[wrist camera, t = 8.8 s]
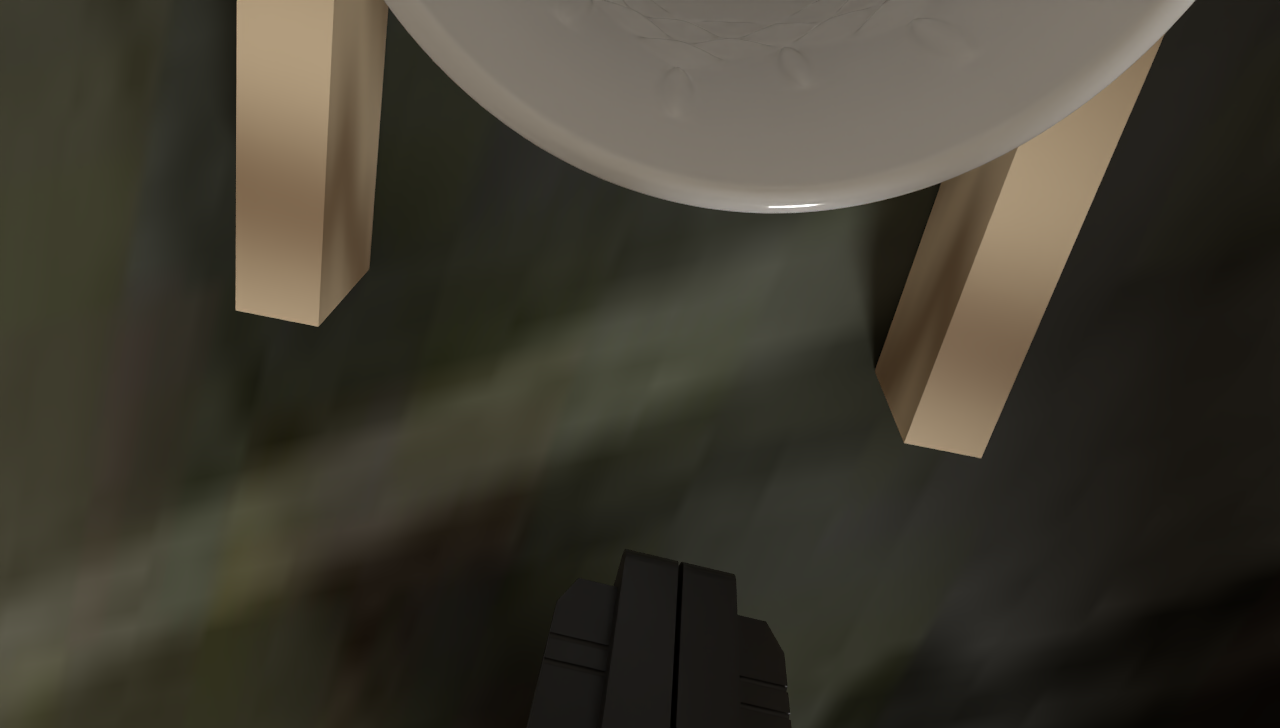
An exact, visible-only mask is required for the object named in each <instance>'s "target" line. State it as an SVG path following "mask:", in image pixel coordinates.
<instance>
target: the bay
mask: <svg viewBox="0 0 1280 728" xmlns="http://www.w3.org/2000/svg"><path fill="white" fill-rule="evenodd" d="M387 18H388V6H387V4H386V3H385V1H384V0H237V95H236V310H237V311H242V312H247V313H252V314H257V315H262V316H267V317H272V318H277V319H282V320H287V321H292V322H297V323H302V324H307V325H312V326H318V327H319V325H320V324H321V323H322V322H323V321H324V320H325V319H326V317H327V316H328V315H329V314H330V313H331V312H332V311H333V310H334V308H335V307H336V306H337V305H338V304H339V303H340V302H341V300H342V299H343V298H344V297H345V296H346V295H347V294H348V292H349V291H350V290H351V289H352V288H353V287H354V286H355V285H356V283H357V282H358V281H359V280H360V279H361V278H362V277H363V275H364V274H365V273H366V272H367V271H368V270H369V265H370V252H371V238H372V224H373V210H374V197H375V183H376V169H377V156H378V142H379V128H380V114H381V101H382V87H383V73H384V59H385V46H386V32H387ZM1164 35H1165V34H1164ZM1164 35H1163V36H1162V37H1161V38H1160V39H1159V40H1158V41H1157V42H1156V43H1155V44H1154V45H1153V46H1152V47H1151V48H1150V49H1149V50H1148V51H1147V52H1146V53H1145V54H1144V55H1143V56H1141V57H1140V58H1139V59H1138V60H1137V61H1136V62H1135V63H1134V64H1133V65H1132V66H1131V67H1129V68H1128V69H1127V70H1126V71H1125V72H1124V73H1123V74H1121V75H1120V76H1119V77H1118V78H1117V79H1116V80H1114V81H1113V82H1112V83H1111V84H1110V85H1108V86H1107V87H1106V88H1105V89H1103V90H1102V91H1101V92H1100V93H1098V94H1097V95H1096V96H1094V97H1093V98H1092V99H1090V100H1089V101H1088V102H1087V103H1085V104H1084V105H1082V106H1081V107H1080V108H1078V109H1077V110H1076V111H1074V112H1073V113H1071V114H1070V115H1068V116H1067V117H1066V118H1064V119H1063V120H1061V121H1060V122H1058V123H1057V124H1055V125H1054V126H1052V127H1051V128H1049V129H1047V130H1046V131H1044V132H1043V133H1041V134H1039V135H1038V136H1036V137H1034V138H1033V139H1031V140H1029V141H1028V142H1026V143H1024V144H1022V145H1021V146H1019V147H1017V148H1015V149H1014V150H1012V151H1010V152H1008V153H1006V154H1004V155H1002V156H1000V157H998V158H996V159H994V160H992V161H990V162H988V163H986V164H984V165H982V166H980V167H978V168H975V169H973V170H971V171H969V172H966V173H964V174H962V175H959V176H957V177H954V178H952V179H949V180H947V181H944V182H941V185H940V188H939V191H938V194H937V196H936V199H935V202H934V205H933V208H932V211H931V213H930V216H929V219H928V222H927V225H926V228H925V230H924V233H923V236H922V239H921V242H920V244H919V247H918V250H917V253H916V256H915V259H914V261H913V264H912V267H911V270H910V273H909V276H908V278H907V281H906V284H905V287H904V290H903V293H902V295H901V298H900V301H899V304H898V307H897V309H896V312H895V315H894V318H893V321H892V324H891V326H890V329H889V332H888V335H887V338H886V341H885V343H884V346H883V349H882V352H881V355H880V358H879V360H878V363H877V366H876V369H875V373H876V375H877V378H878V380H879V383H880V385H881V388H882V390H883V393H884V395H885V397H886V400H887V402H888V405H889V407H890V410H891V412H892V415H893V417H894V419H895V422H896V424H897V427H898V429H899V432H900V434H901V437H902V439H903V442H904V443H907V444H912V445H917V446H922V447H927V448H932V449H937V450H942V451H947V452H952V453H957V454H962V455H967V456H972V457H977V458H982V455H983V453H984V451H985V448H986V446H987V444H988V441H989V439H990V437H991V434H992V432H993V430H994V427H995V425H996V423H997V421H998V418H999V416H1000V414H1001V411H1002V409H1003V407H1004V404H1005V402H1006V400H1007V397H1008V395H1009V393H1010V390H1011V388H1012V386H1013V384H1014V381H1015V379H1016V377H1017V374H1018V372H1019V370H1020V367H1021V365H1022V363H1023V360H1024V358H1025V356H1026V354H1027V351H1028V349H1029V347H1030V344H1031V342H1032V340H1033V337H1034V335H1035V333H1036V330H1037V328H1038V326H1039V323H1040V321H1041V319H1042V317H1043V314H1044V312H1045V310H1046V307H1047V305H1048V303H1049V300H1050V298H1051V296H1052V293H1053V291H1054V289H1055V287H1056V284H1057V282H1058V280H1059V277H1060V275H1061V273H1062V270H1063V268H1064V266H1065V263H1066V261H1067V259H1068V256H1069V254H1070V252H1071V250H1072V247H1073V245H1074V243H1075V240H1076V238H1077V236H1078V233H1079V231H1080V229H1081V226H1082V224H1083V222H1084V220H1085V217H1086V215H1087V213H1088V210H1089V208H1090V206H1091V203H1092V201H1093V199H1094V196H1095V194H1096V192H1097V189H1098V187H1099V185H1100V183H1101V180H1102V178H1103V176H1104V173H1105V171H1106V169H1107V166H1108V164H1109V162H1110V159H1111V157H1112V155H1113V153H1114V150H1115V148H1116V146H1117V143H1118V141H1119V139H1120V136H1121V134H1122V132H1123V129H1124V127H1125V125H1126V122H1127V120H1128V118H1129V116H1130V113H1131V111H1132V109H1133V106H1134V104H1135V102H1136V99H1137V97H1138V95H1139V92H1140V90H1141V88H1142V86H1143V83H1144V81H1145V79H1146V76H1147V74H1148V72H1149V69H1150V67H1151V65H1152V62H1153V60H1154V58H1155V55H1156V53H1157V51H1158V49H1159V46H1160V44H1161V42H1162V39H1163V37H1164Z"/></svg>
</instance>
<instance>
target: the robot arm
mask: <svg viewBox="0 0 1280 728" xmlns="http://www.w3.org/2000/svg"><path fill="white" fill-rule="evenodd" d="M786 690H787V677H786V667H785V657H784V652H783V651H782V649H781V647H780V645H779V644H778V642H777V640H776V638H775V637H774V635H773V633H772V631H771V629H770V628H769V626H768V624H767V622H765V621H761V620H757V619H752V618H748V617H744V616H740V615H737V592H736V578H735V575H734V574H731V573H727V572H722V571H718V570H714V569H710V568H705V567H701V566H697V565H693V564H688V563H684V562H681V563H680V565H679V567H678V561H675V560H670V559H666V558H662V557H658V556H653V555H649V554H645V553H641V552H636V551H632V550H628V549H625V550H624V553H623V556H622V559H621V562H620V566H619V569H618V573H617V576H616V580H615V583H614V586H610V585H606V584H602V583H597V582H593V581H589V580H585V579H580V578H578V579H577V580H576V581H575V582H574V584H573V585H572V586H571V587H570V588H569V589H568V590H567V591H566V592H565V593H564V594H563V595H562V596H561V597H560V598H559V599H558V600H557V603H556V607H555V611H554V615H553V619H552V623H551V627H550V631H549V635H548V639H547V643H546V647H545V651H544V655H543V659H542V663H541V667H540V671H539V675H538V679H537V683H536V687H535V692H534V696H533V700H532V704H531V709H530V713H529V717H528V722H527V726H526V728H791V720H789V715H790V708H789V698H788V693H787V692H786Z"/></svg>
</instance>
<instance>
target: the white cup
mask: <svg viewBox="0 0 1280 728" xmlns="http://www.w3.org/2000/svg"><path fill="white" fill-rule="evenodd" d="M384 1H385V3H386V4H387V6H388V7H389V8H390V10H391V11H392V12H393V14H394V15H395V16H396V18H397V19H398V20H399V21H400V23H401V24H402V25H403V26H404V28H405V29H406V30H407V31H408V33H409V34H410V35H411V36H412V37H413V39H414V40H415V41H416V42H417V43H418V44H419V45H420V47H421V48H422V49H423V50H424V51H425V52H426V53H427V54H428V56H429V57H430V58H431V59H432V60H433V61H434V62H435V63H436V64H437V65H438V66H439V67H440V68H441V69H442V70H443V71H444V72H445V73H446V74H447V75H448V76H449V77H450V78H451V79H452V80H453V81H454V82H455V83H456V84H457V85H458V86H459V87H460V88H462V89H463V90H464V91H465V92H466V93H467V94H468V95H469V96H470V97H472V98H473V99H474V100H475V101H476V102H477V103H479V104H480V105H481V106H482V107H483V108H485V109H486V110H487V111H488V112H490V113H491V114H492V115H494V116H495V117H496V118H497V119H499V120H500V121H501V122H503V123H504V124H506V125H507V126H508V127H510V128H511V129H512V130H514V131H515V132H517V133H518V134H520V135H521V136H523V137H524V138H526V139H527V140H529V141H530V142H532V143H534V144H535V145H537V146H538V147H540V148H542V149H543V150H545V151H547V152H549V153H550V154H552V155H554V156H556V157H557V158H559V159H561V160H563V161H565V162H567V163H569V164H571V165H573V166H575V167H577V168H579V169H581V170H583V171H585V172H587V173H590V174H592V175H594V176H596V177H599V178H601V179H604V180H606V181H609V182H611V183H614V184H616V185H619V186H622V187H624V188H627V189H630V190H633V191H636V192H639V193H643V194H646V195H649V196H653V197H656V198H660V199H664V200H668V201H672V202H677V203H681V204H686V205H691V206H696V207H702V208H709V209H716V210H724V211H734V212H747V213H800V212H814V211H824V210H832V209H840V208H846V207H852V206H858V205H863V204H868V203H873V202H878V201H882V200H886V199H890V198H894V197H898V196H901V195H905V194H908V193H912V192H915V191H918V190H921V189H924V188H927V187H930V186H933V185H936V184H939V183H941V182H944V181H947V180H949V179H952V178H954V177H957V176H959V175H962V174H964V173H966V172H969V171H971V170H973V169H975V168H978V167H980V166H982V165H984V164H986V163H988V162H990V161H992V160H994V159H996V158H998V157H1000V156H1002V155H1004V154H1006V153H1008V152H1010V151H1012V150H1014V149H1015V148H1017V147H1019V146H1021V145H1022V144H1024V143H1026V142H1028V141H1029V140H1031V139H1033V138H1034V137H1036V136H1038V135H1039V134H1041V133H1043V132H1044V131H1046V130H1047V129H1049V128H1051V127H1052V126H1054V125H1055V124H1057V123H1058V122H1060V121H1061V120H1063V119H1064V118H1066V117H1067V116H1068V115H1070V114H1071V113H1073V112H1074V111H1076V110H1077V109H1078V108H1080V107H1081V106H1082V105H1084V104H1085V103H1087V102H1088V101H1089V100H1090V99H1092V98H1093V97H1094V96H1096V95H1097V94H1098V93H1100V92H1101V91H1102V90H1103V89H1105V88H1106V87H1107V86H1108V85H1110V84H1111V83H1112V82H1113V81H1114V80H1116V79H1117V78H1118V77H1119V76H1120V75H1121V74H1123V73H1124V72H1125V71H1126V70H1127V69H1128V68H1129V67H1131V66H1132V65H1133V64H1134V63H1135V62H1136V61H1137V60H1138V59H1139V58H1140V57H1141V56H1143V55H1144V54H1145V53H1146V52H1147V51H1148V50H1149V49H1150V48H1151V47H1152V46H1153V45H1154V44H1155V43H1156V42H1157V41H1158V40H1159V39H1160V38H1161V37H1162V36H1163V35H1164V34H1165V33H1166V32H1167V31H1168V30H1169V29H1170V28H1171V27H1172V26H1173V25H1174V24H1175V22H1176V21H1177V20H1178V19H1179V18H1180V17H1181V16H1182V15H1183V14H1184V13H1185V12H1186V10H1187V9H1188V8H1189V7H1190V6H1191V5H1192V4H1193V2H1194V1H1195V0H384Z"/></svg>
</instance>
